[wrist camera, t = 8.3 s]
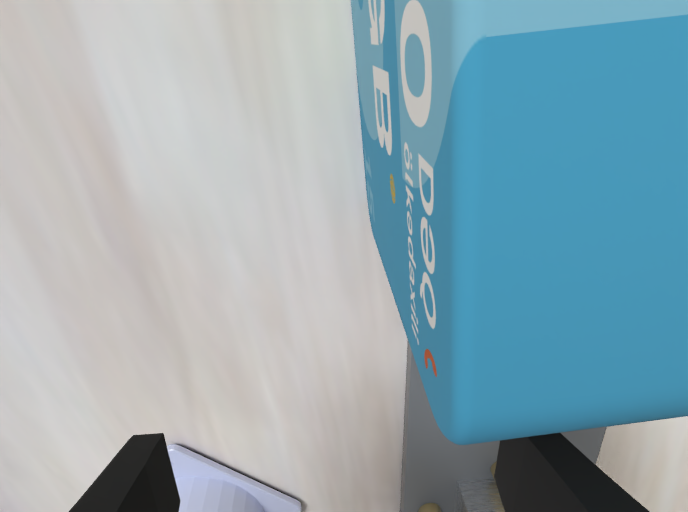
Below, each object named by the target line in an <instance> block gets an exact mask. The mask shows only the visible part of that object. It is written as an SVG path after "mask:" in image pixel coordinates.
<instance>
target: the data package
mask: <svg viewBox="0 0 688 512" xmlns="http://www.w3.org/2000/svg"><path fill="white" fill-rule="evenodd" d="M351 7H352V19H353V32H354V44H355V56H356V68H357V81H358V93H359V105H360V117H361V129H362V142H363V154H364V166H365V178H366V190H367V200H368V208H369V215H370V221H371V227H372V232H373V235H374V239H375V242H376V245H377V248H378V251H379V254H380V257H381V260H382V263H383V266H384V269H385V272H386V275H387V278H388V281H389V284H390V287H391V290H392V293H393V296H394V299H395V302H396V305H397V308H398V311H399V314H400V317H401V320H402V323H403V326H404V329H405V332H406V335H407V338H408V341H409V344H410V347H411V350H412V353H413V356H414V359H415V362H416V365H417V368H418V371H419V374H420V377H421V380H422V383H423V386H424V389H425V392H426V395H427V398H428V401H429V404H430V407H431V410H432V413H433V416H434V418H435V420H436V423H437V425H438V427H439V429H440V430H441V432H442V433H443V435H444V436H445V437H446V438H447V439H448V440H449V441H451V442H453V443H455V444H457V445H469V444H477V443H484V442H492V441H500V440H507V439H515V438H523V437H530V436H538V435H546V434H553V433H561V432H569V431H576V430H584V429H591V428H599V427H607V426H614V425H622V424H630V423H637V422H645V421H653V420H660V419H668V418H676V417H683V416H688V0H351Z"/></svg>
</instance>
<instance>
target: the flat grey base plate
mask: <svg viewBox="0 0 688 512" xmlns="http://www.w3.org/2000/svg"><path fill="white" fill-rule="evenodd" d="M605 430H606V427H599V428H591V429H584V430H576V431H569V432H561V434H562V435H563V436H564V437H566V438H567V439H568V440H569V441H570V442H571V443H572V444H573V445H574V446H575V447H576V448H577V449H579V450H580V451H581V452H582V453H583V454H584V455H585V456H586V457H587V458H588V459H589V460H591V461H592V462H593V463H594V464H596V461H597V457H598V454H599V451H600V447H601V444H602V441H603V437H604V434H605ZM499 444H500V441H492V442H484V443H477V444H469V445H457V444H455V443H453V442H451V441H449V440H448V439H447V438H446V437H445V436H444V435H443V433H442V432H441V430H440V429H439V427H438V425H437V423H436V420H435V418H434V416H433V413H432V410H431V407H430V404H429V401H428V398H427V395H426V392H425V389H424V386H423V383H422V380H421V377H420V374H419V371H418V368H417V365H416V362H415V359H414V356H413V353H412V350H411V347H410V344H409V341H408V347H407V369H406V391H405V414H404V436H403V458H402V480H401V503H400V512H454V505H455V497H456V488H457V481H465V480H478V479H491V478H494V474H495V468H496V462H497V456H498V450H499ZM494 480H495V478H494ZM495 483H496V481H495Z"/></svg>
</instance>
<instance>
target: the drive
mask: <svg viewBox="0 0 688 512" xmlns="http://www.w3.org/2000/svg"><path fill="white" fill-rule="evenodd" d="M454 512H505V510H504V507H503V504H502V501H501V498H500V495H499V491H498V488H497V485H496V483H495V480H494V478H491V479H478V480H465V481H457V488H456V497H455V505H454Z"/></svg>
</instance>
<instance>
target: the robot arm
mask: <svg viewBox="0 0 688 512" xmlns="http://www.w3.org/2000/svg"><path fill="white" fill-rule="evenodd" d="M494 478H495V481H496V485H497V488H498V491H499V495H500V498H501V501H502V504H503V507H504V510H505V512H649V511H648V510H647V509H646V508H645V507H643V506H642V505H641V504H640V503H639V502H637V501H636V500H635V499H634V498H633V497H631V496H630V495H629V494H628V493H627V492H626V491H625V490H623V489H622V488H621V487H620V486H619V485H618V484H616V483H615V482H614V481H613V480H612V479H611V478H610V477H608V476H607V475H606V474H605V473H604V472H603V471H602V470H601V469H599V468H598V467H597V466H596V465H595V464H594V463H593V462H592V461H591V460H589V459H588V458H587V457H586V456H585V455H584V454H583V453H582V452H581V451H580V450H579V449H577V448H576V447H575V446H574V445H573V444H572V443H571V442H570V441H569V440H568V439H567V438H566V437H564V436H563V435H562V434H561V433H553V434H546V435H538V436H530V437H523V438H515V439H507V440H500V444H499V450H498V456H497V462H496V468H495V474H494ZM69 512H301V503H300V502H299V501H298V500H296V499H294V498H291V497H289V496H287V495H285V494H283V493H281V492H279V491H276V490H274V489H272V488H270V487H268V486H266V485H263V484H261V483H259V482H257V481H255V480H253V479H251V478H248V477H246V476H244V475H242V474H240V473H238V472H235V471H233V470H231V469H229V468H227V467H225V466H223V465H220V464H218V463H216V462H214V461H212V460H210V459H207V458H205V457H203V456H201V455H199V454H197V453H194V452H192V451H190V450H188V449H186V448H184V447H182V446H179V445H176V444H171V445H168V446H166V442H165V438H164V434H163V433H159V434H145V435H133V436H132V437H131V438H130V439H129V440H128V441H127V443H126V444H125V445H124V446H123V447H122V449H121V450H120V451H119V452H118V453H117V455H116V456H115V457H114V458H113V459H112V461H111V462H110V463H109V464H108V466H107V467H106V468H105V469H104V470H103V472H102V473H101V474H100V475H99V476H98V478H97V479H96V480H95V481H94V482H93V484H92V485H91V486H90V487H89V488H88V490H87V491H86V492H85V493H84V494H83V496H82V497H81V498H80V499H79V500H78V502H77V503H76V504H75V505H74V506H73V507H72V508H71V510H70V511H69Z"/></svg>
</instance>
